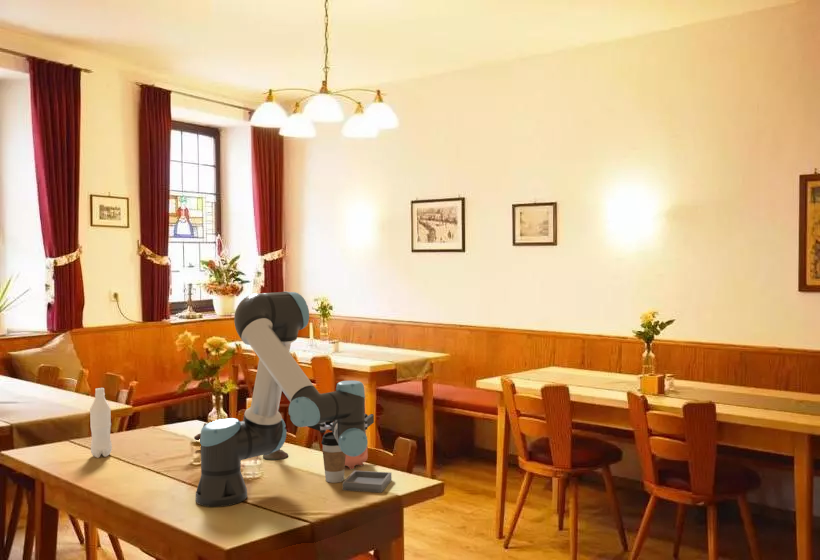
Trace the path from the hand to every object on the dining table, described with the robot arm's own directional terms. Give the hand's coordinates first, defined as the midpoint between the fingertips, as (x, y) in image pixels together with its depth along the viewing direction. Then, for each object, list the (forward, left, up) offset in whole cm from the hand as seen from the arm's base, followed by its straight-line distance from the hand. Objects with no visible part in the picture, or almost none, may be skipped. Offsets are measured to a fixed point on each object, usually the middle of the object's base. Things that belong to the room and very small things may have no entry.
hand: (337, 415), depth 229 cm
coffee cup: (+9, +4, -24) cm, 26 cm away
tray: (+6, -8, -23) cm, 25 cm away
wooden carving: (+40, +62, -24) cm, 78 cm away
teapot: (+25, +4, -24) cm, 35 cm away
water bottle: (+20, +98, -24) cm, 103 cm away
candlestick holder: (+31, +34, -24) cm, 52 cm away
